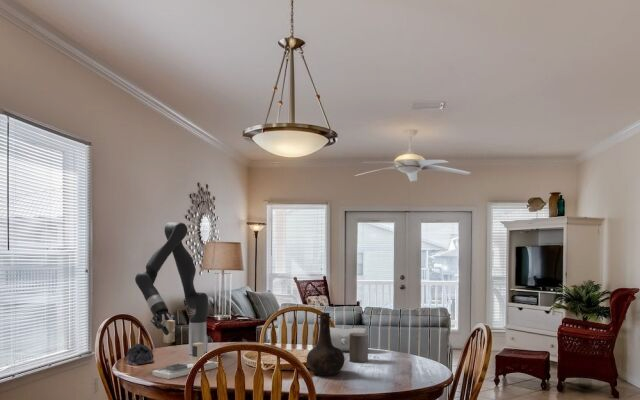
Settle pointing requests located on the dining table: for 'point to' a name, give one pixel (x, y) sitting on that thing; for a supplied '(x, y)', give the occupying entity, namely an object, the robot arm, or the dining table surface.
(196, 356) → the board
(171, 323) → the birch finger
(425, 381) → the dining table surface
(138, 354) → the crystal cluster
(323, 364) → the dark brown vase
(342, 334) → the tank
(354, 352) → the pillar candle
